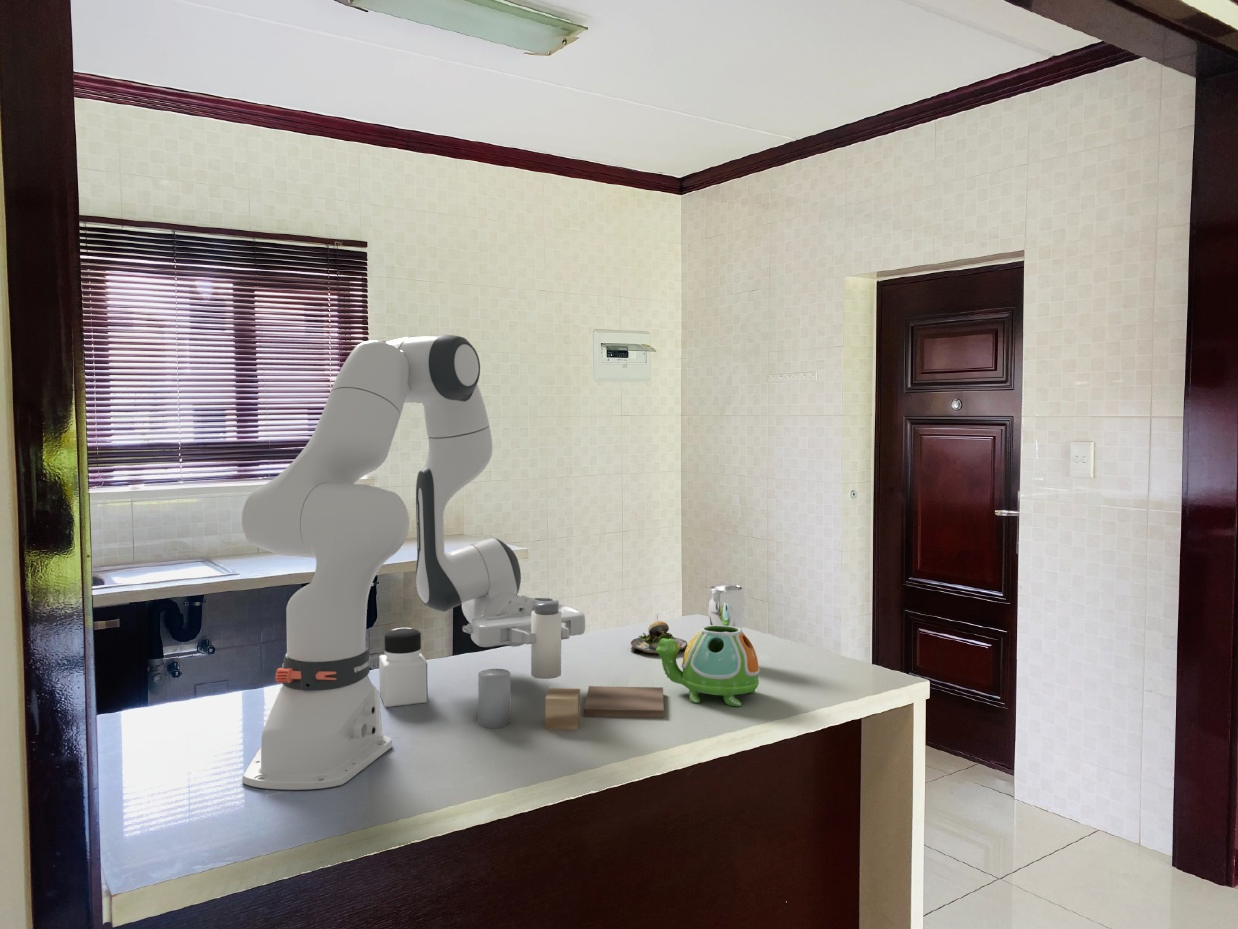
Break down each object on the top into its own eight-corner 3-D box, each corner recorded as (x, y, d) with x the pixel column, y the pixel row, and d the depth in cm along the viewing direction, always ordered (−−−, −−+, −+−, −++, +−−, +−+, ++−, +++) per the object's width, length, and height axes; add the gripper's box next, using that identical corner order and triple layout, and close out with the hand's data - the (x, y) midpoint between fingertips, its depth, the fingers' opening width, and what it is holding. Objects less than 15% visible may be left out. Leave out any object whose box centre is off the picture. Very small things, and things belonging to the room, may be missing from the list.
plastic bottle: (559, 679, 149) (559, 607, 148) (529, 678, 149) (529, 606, 149) (562, 670, 154) (563, 600, 153) (533, 669, 154) (533, 600, 154)
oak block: (577, 730, 141) (577, 698, 141) (545, 729, 141) (545, 698, 141) (579, 719, 146) (579, 688, 146) (548, 718, 146) (548, 688, 146)
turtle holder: (666, 679, 167) (666, 615, 167) (764, 689, 162) (765, 623, 161) (647, 700, 156) (648, 631, 155) (752, 711, 150) (753, 640, 149)
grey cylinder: (507, 728, 142) (507, 678, 141) (475, 728, 142) (475, 677, 141) (512, 717, 147) (512, 669, 146) (481, 717, 147) (481, 668, 146)
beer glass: (704, 666, 176) (705, 589, 175) (711, 656, 182) (712, 583, 181) (740, 669, 174) (741, 592, 173) (746, 659, 180) (747, 585, 179)
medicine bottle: (427, 703, 153) (427, 633, 153) (384, 708, 151) (383, 637, 150) (420, 690, 160) (420, 623, 159) (379, 695, 157) (378, 627, 157)
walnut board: (663, 717, 147) (663, 710, 147) (583, 716, 147) (583, 709, 147) (662, 694, 159) (662, 687, 159) (588, 693, 159) (588, 686, 159)
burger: (624, 656, 183) (624, 620, 183) (636, 642, 195) (636, 607, 194) (683, 660, 181) (683, 623, 180) (692, 645, 192) (692, 610, 191)
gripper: (458, 608, 157) (491, 625, 145) (563, 597, 167) (601, 611, 156) (458, 644, 157) (490, 664, 145) (562, 631, 168) (600, 648, 156)
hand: (548, 636), depth 151 cm, fingers closed on plastic bottle, 5 cm apart
